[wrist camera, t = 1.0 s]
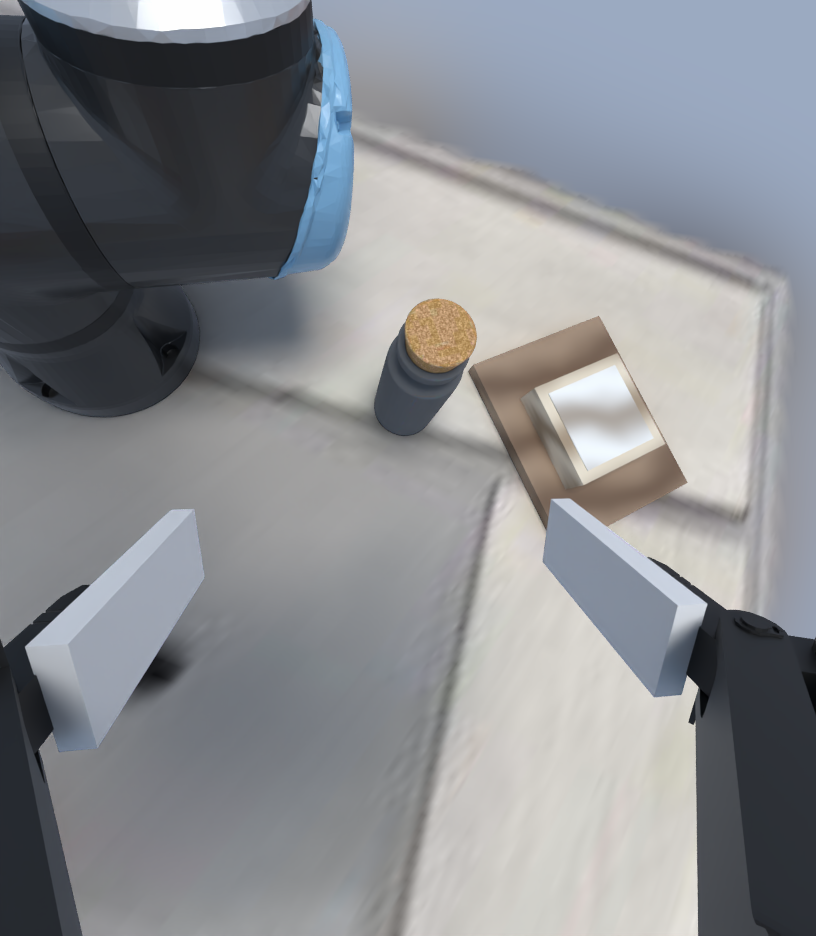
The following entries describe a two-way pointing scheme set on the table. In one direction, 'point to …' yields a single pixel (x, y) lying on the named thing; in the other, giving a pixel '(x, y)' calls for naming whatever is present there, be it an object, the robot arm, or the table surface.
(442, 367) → the bottle
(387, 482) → the table surface
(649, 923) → the table surface
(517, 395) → the plinth
